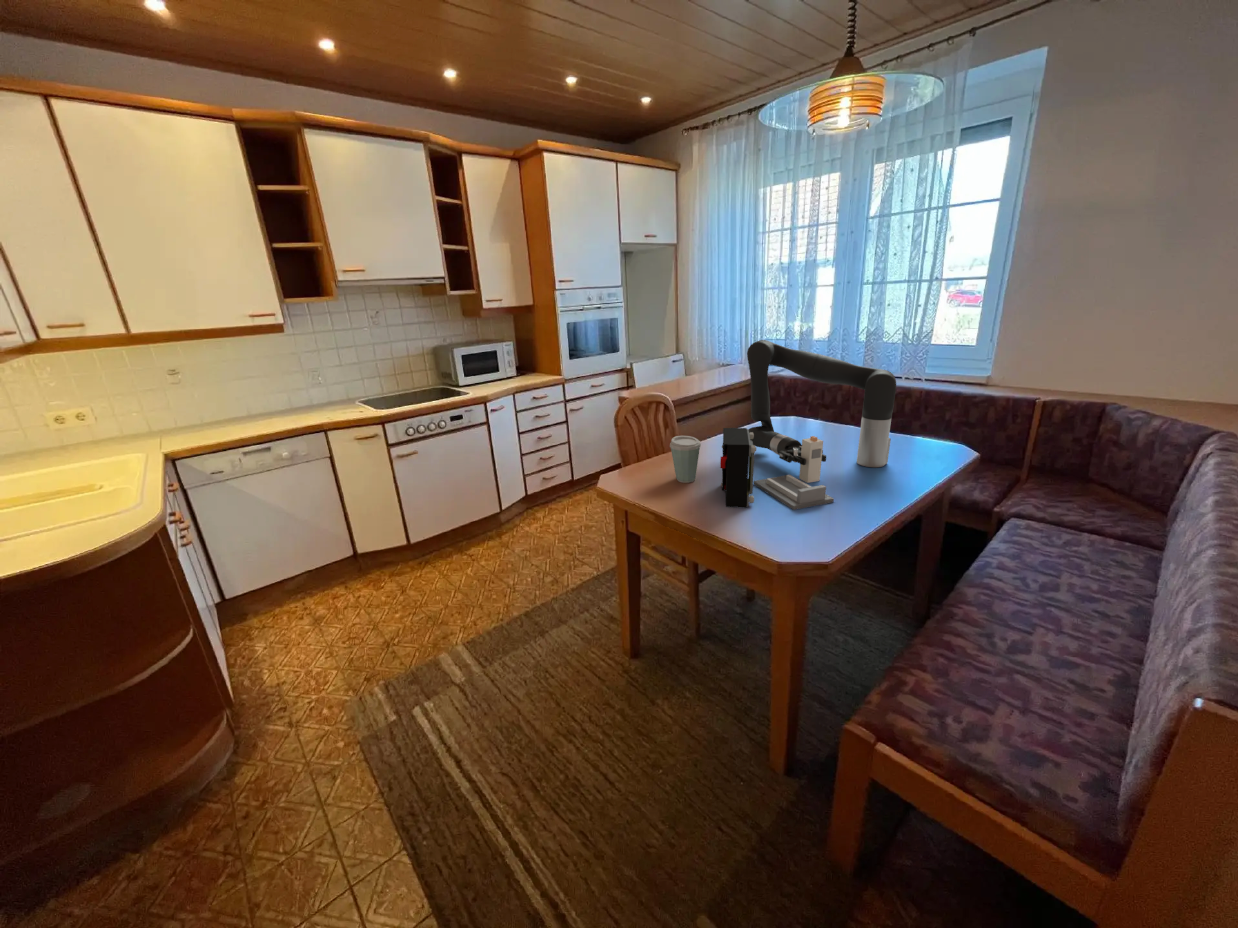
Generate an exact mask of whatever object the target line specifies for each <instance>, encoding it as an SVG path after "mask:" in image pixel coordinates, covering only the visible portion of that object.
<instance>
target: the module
mask: <svg viewBox="0 0 1238 928" xmlns="http://www.w3.org/2000/svg"><path fill="white" fill-rule="evenodd" d="M801 445H802V449H801V457H803V458H805V459H806V465H802V464H800V463H799V464H800V465H799V478H798V479H799V480H801V481H802V482H804V483H806V484H809V483H813V482H814V483H815V482H820V481H821V480H820V479H821V472H822V471H821V470H822V462H823V461H822V450H823V449H824V448H823V447H824V440H822V439H819V438H818V436H815V435H812V436H810V437H809V438H802V440H801ZM823 451H824V450H823Z"/></svg>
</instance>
